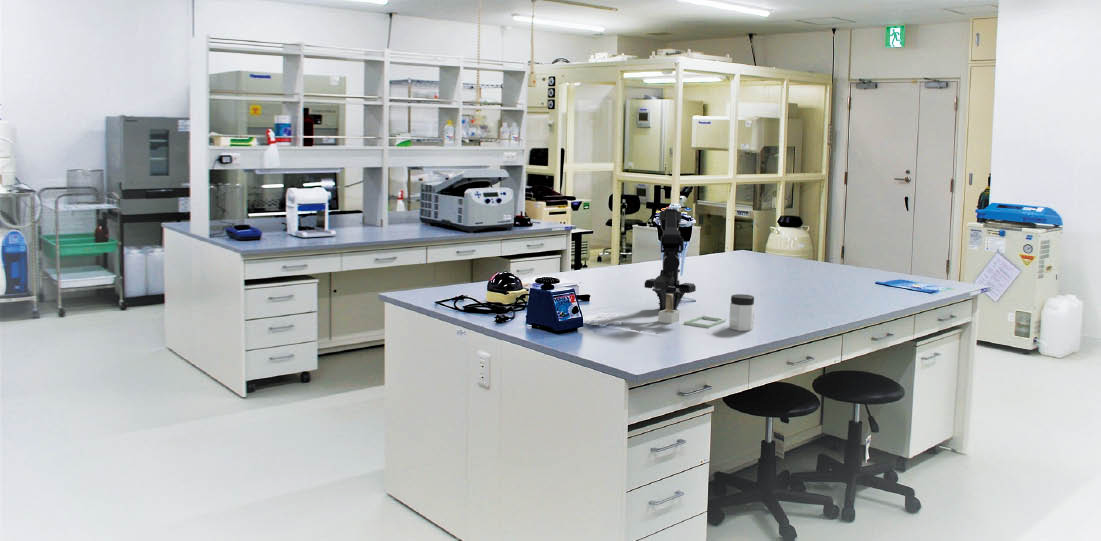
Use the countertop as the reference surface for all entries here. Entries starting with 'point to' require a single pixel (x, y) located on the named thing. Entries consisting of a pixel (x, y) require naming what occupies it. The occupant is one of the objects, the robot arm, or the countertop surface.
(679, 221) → the robot arm
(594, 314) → the countertop surface
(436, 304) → the countertop surface
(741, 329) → the jar
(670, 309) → the dowel
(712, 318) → the tray
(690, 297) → the countertop surface
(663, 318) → the white square tube
